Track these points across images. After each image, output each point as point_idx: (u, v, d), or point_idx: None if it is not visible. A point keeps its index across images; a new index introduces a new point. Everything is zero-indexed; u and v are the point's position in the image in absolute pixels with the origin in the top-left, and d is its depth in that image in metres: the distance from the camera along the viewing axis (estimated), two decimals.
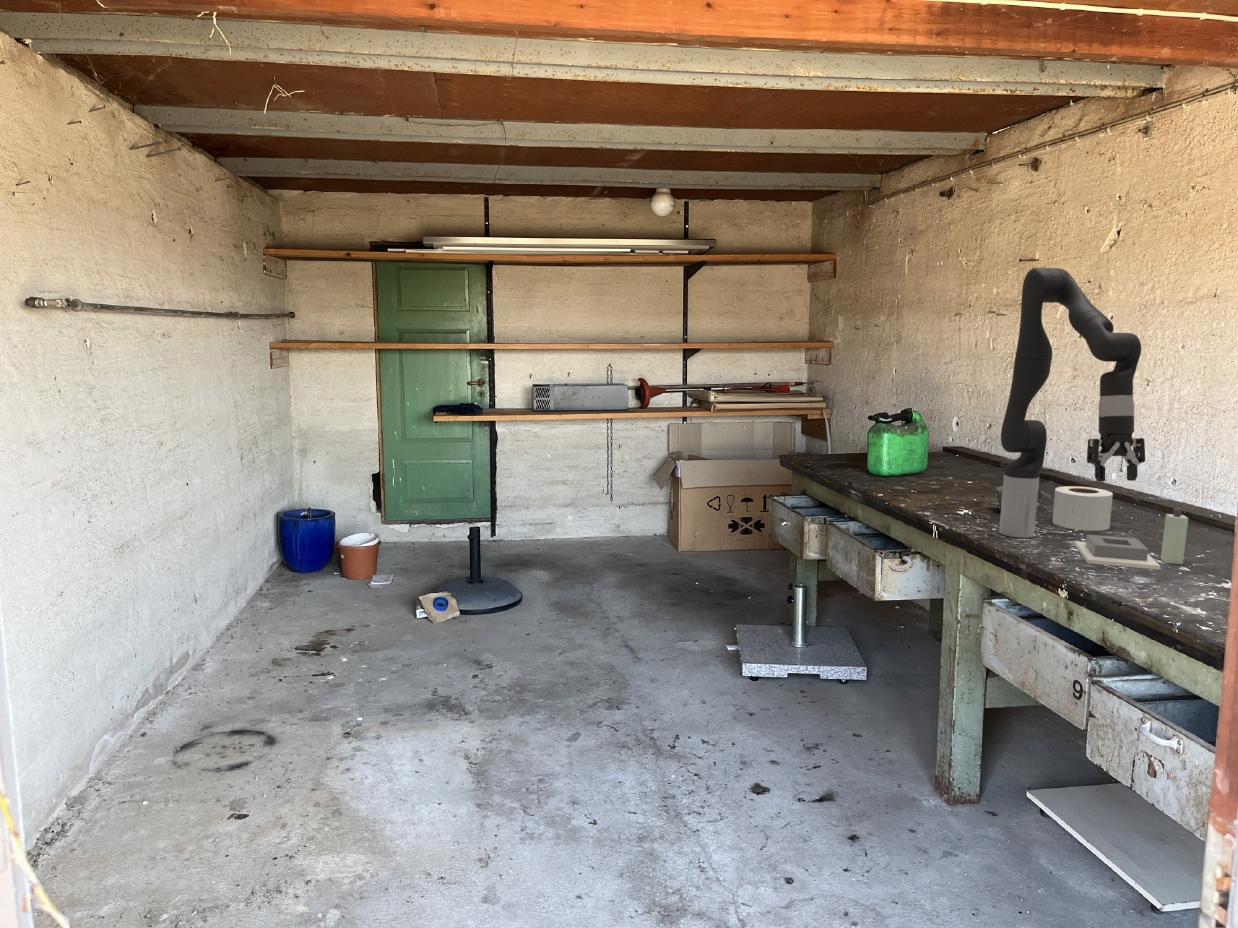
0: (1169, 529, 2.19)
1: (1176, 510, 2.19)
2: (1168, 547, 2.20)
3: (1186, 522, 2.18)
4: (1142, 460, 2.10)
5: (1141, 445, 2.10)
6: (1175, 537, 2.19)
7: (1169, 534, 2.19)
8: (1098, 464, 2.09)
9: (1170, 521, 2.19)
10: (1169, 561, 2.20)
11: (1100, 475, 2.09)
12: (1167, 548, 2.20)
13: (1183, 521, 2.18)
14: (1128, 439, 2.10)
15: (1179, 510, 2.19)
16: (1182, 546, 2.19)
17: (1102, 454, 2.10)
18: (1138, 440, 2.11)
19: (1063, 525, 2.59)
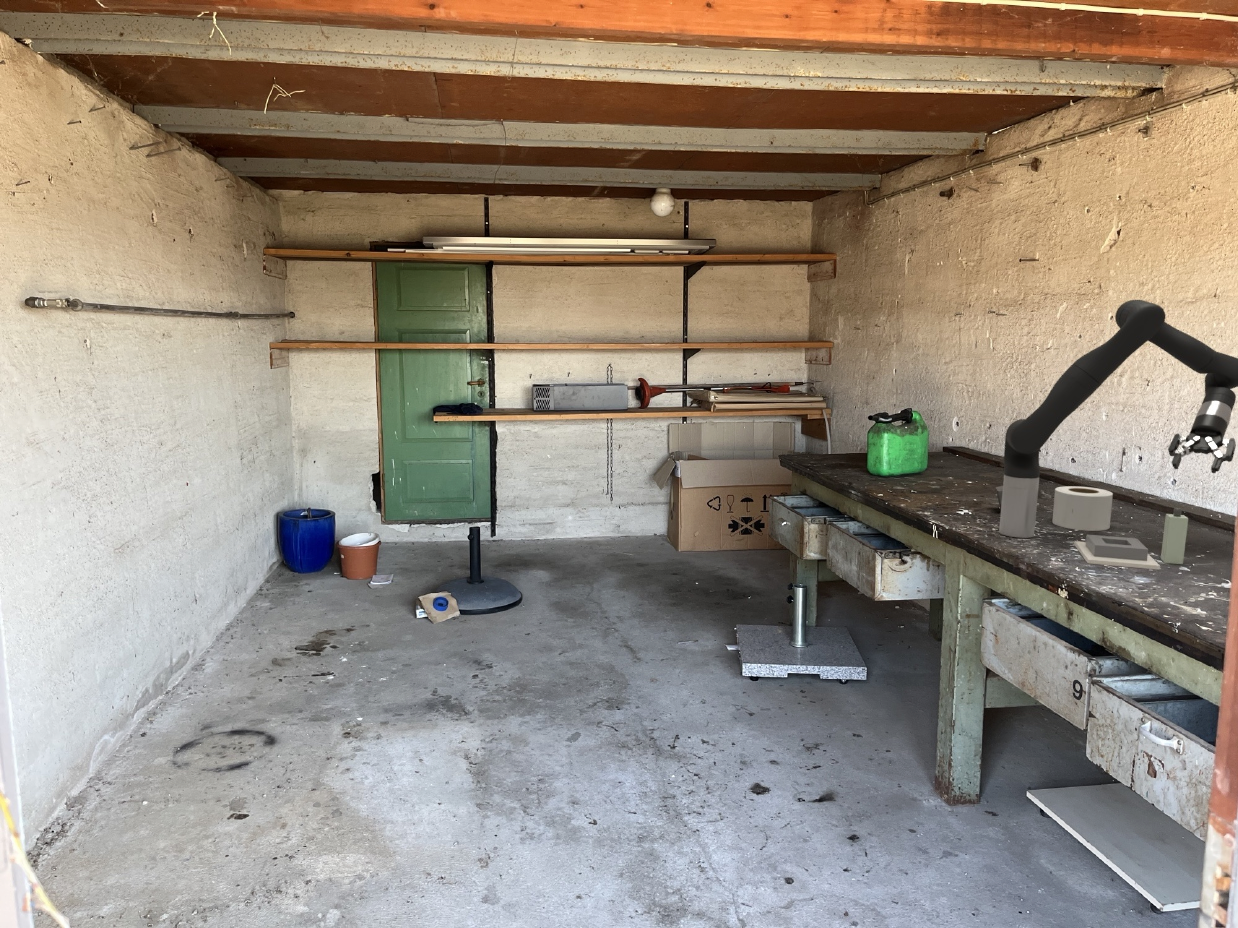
0: (1169, 529, 2.19)
1: (1176, 510, 2.19)
2: (1168, 547, 2.20)
3: (1186, 522, 2.18)
4: None
5: None
6: (1175, 537, 2.19)
7: (1169, 534, 2.19)
8: None
9: (1170, 521, 2.19)
10: (1169, 561, 2.20)
11: None
12: (1167, 548, 2.20)
13: (1183, 521, 2.18)
14: None
15: (1179, 510, 2.19)
16: (1182, 546, 2.19)
17: None
18: None
19: (1063, 525, 2.59)
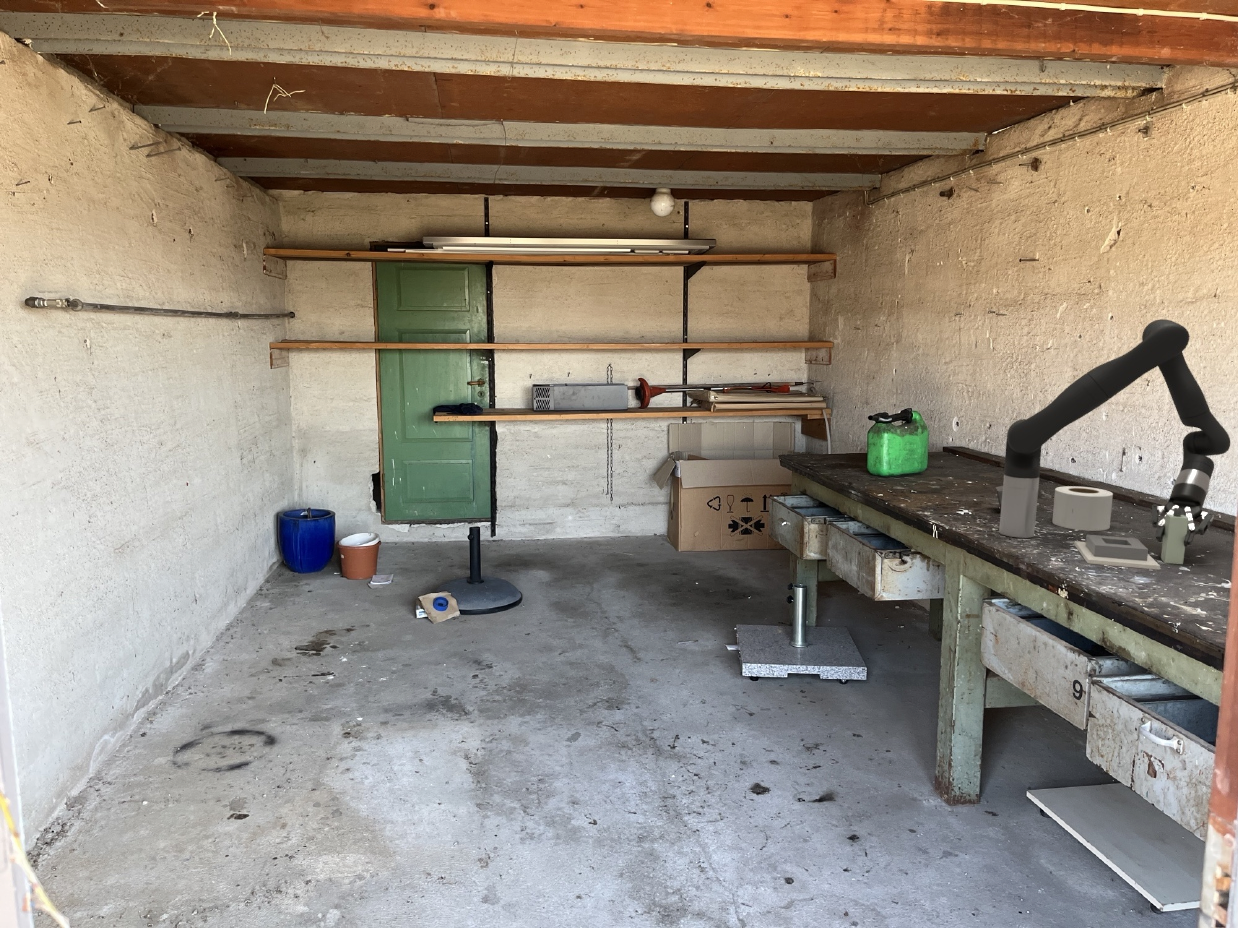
0: (1169, 529, 2.19)
1: (1176, 510, 2.19)
2: (1169, 547, 2.20)
3: (1186, 522, 2.18)
4: None
5: None
6: (1175, 537, 2.19)
7: (1170, 534, 2.19)
8: None
9: (1170, 521, 2.19)
10: (1169, 561, 2.20)
11: None
12: (1167, 548, 2.20)
13: (1183, 521, 2.18)
14: None
15: (1179, 510, 2.19)
16: (1182, 546, 2.19)
17: None
18: None
19: (1063, 525, 2.59)
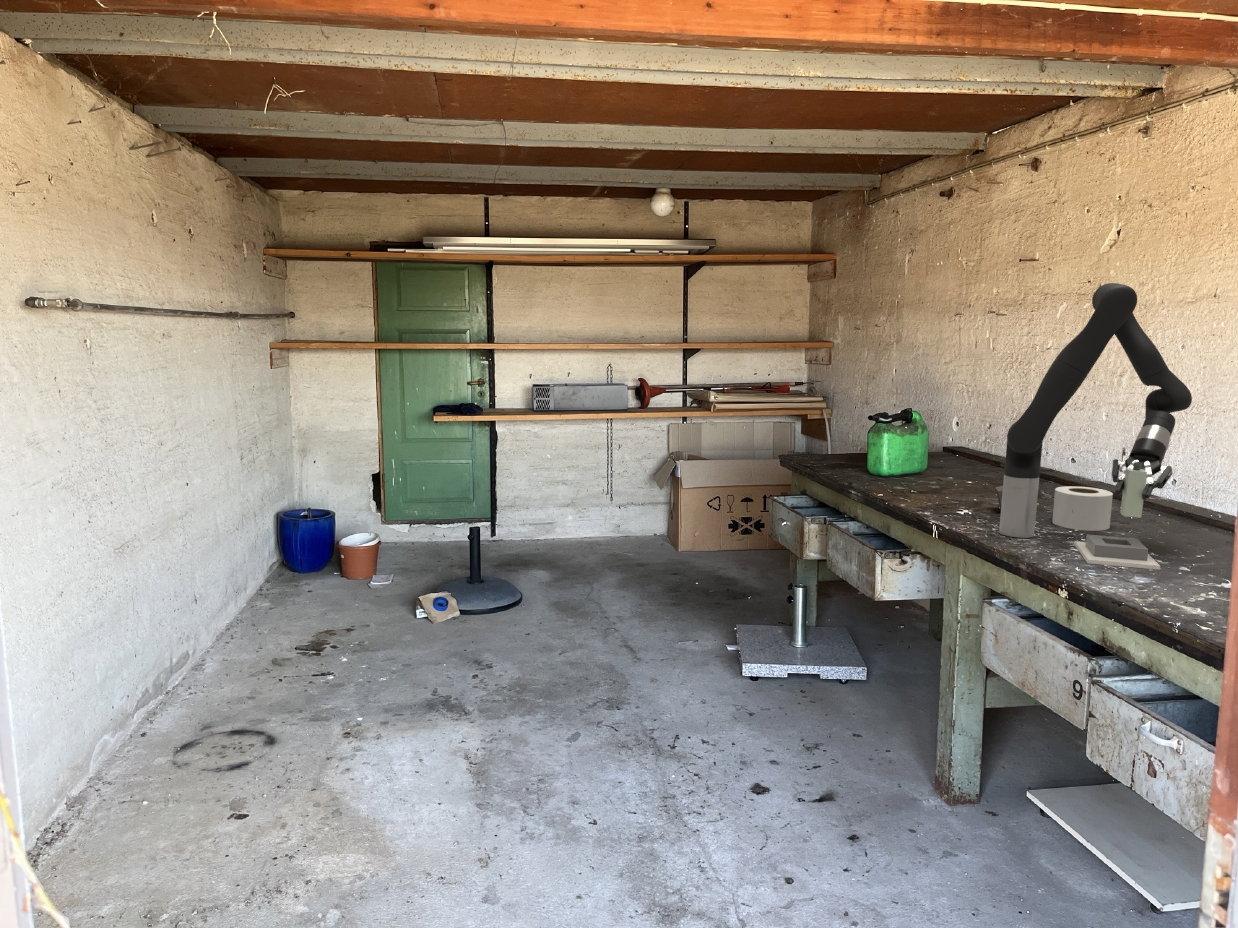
0: (1128, 482, 2.21)
1: (1135, 464, 2.21)
2: (1127, 500, 2.21)
3: (1145, 475, 2.19)
4: None
5: None
6: (1134, 491, 2.21)
7: (1129, 487, 2.21)
8: None
9: (1129, 474, 2.20)
10: (1128, 514, 2.22)
11: None
12: (1126, 501, 2.22)
13: (1142, 475, 2.19)
14: None
15: (1138, 464, 2.21)
16: (1140, 499, 2.20)
17: None
18: None
19: (1063, 525, 2.59)
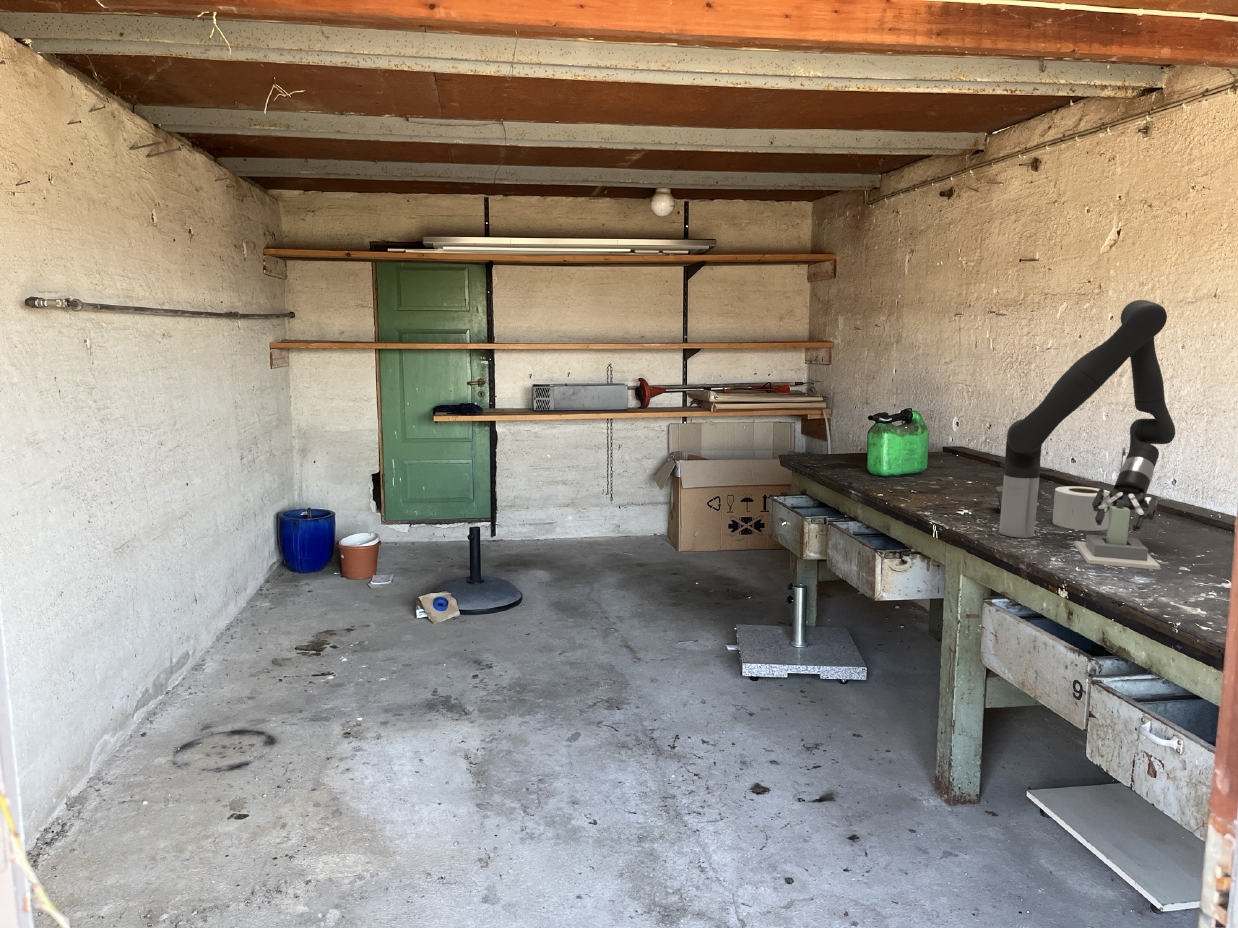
0: (1112, 521, 2.23)
1: (1119, 502, 2.23)
2: (1111, 538, 2.24)
3: (1128, 514, 2.22)
4: None
5: None
6: (1118, 529, 2.23)
7: (1112, 525, 2.24)
8: None
9: (1113, 513, 2.23)
10: None
11: None
12: (1110, 539, 2.24)
13: (1126, 513, 2.22)
14: None
15: (1122, 502, 2.23)
16: (1124, 537, 2.23)
17: None
18: None
19: (1063, 525, 2.59)
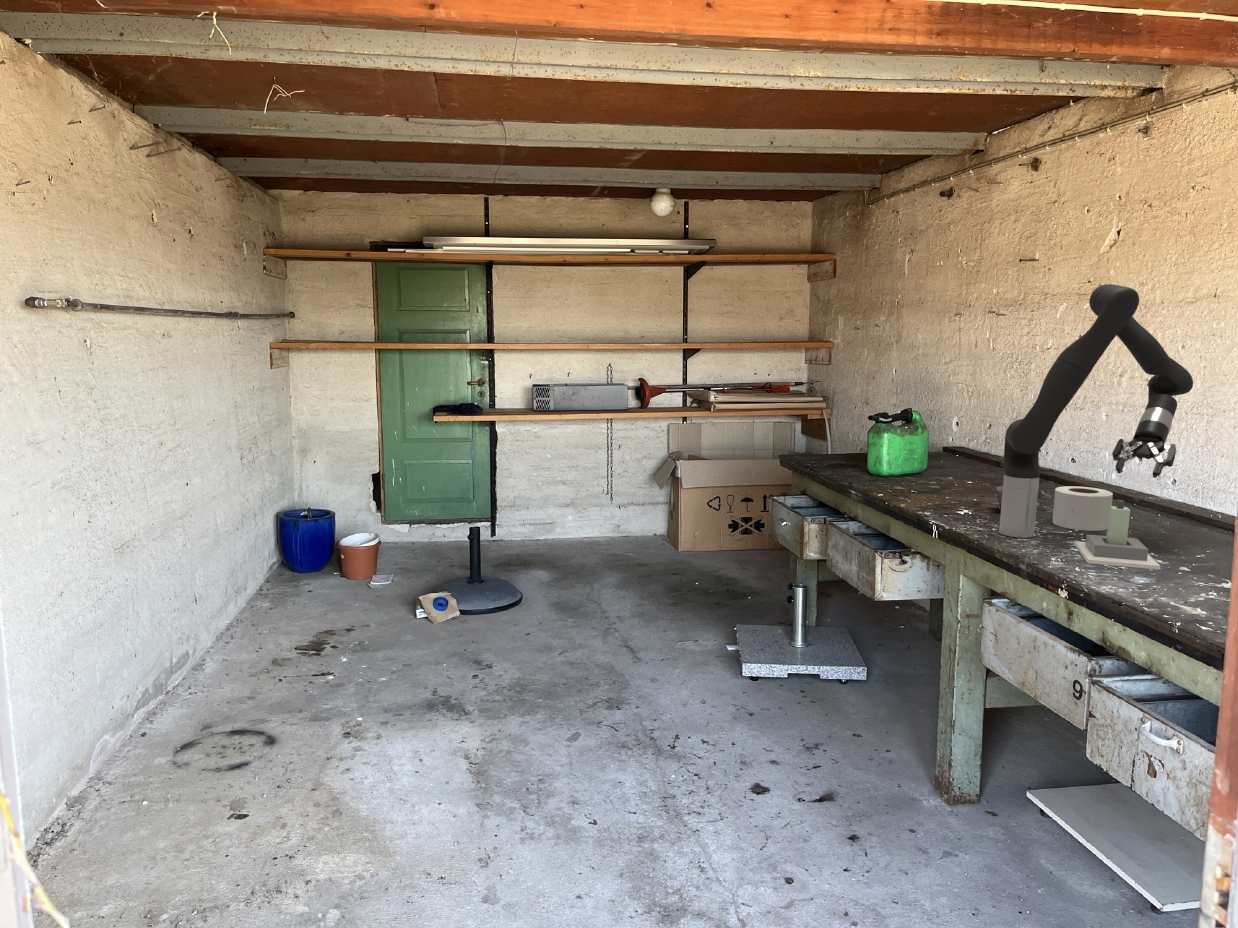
0: (1112, 521, 2.23)
1: (1119, 502, 2.23)
2: (1111, 538, 2.24)
3: (1128, 514, 2.22)
4: None
5: None
6: (1118, 529, 2.23)
7: (1112, 525, 2.24)
8: None
9: (1113, 513, 2.23)
10: None
11: None
12: (1110, 539, 2.24)
13: (1126, 513, 2.22)
14: None
15: (1122, 502, 2.23)
16: (1124, 537, 2.23)
17: None
18: None
19: (1063, 525, 2.59)
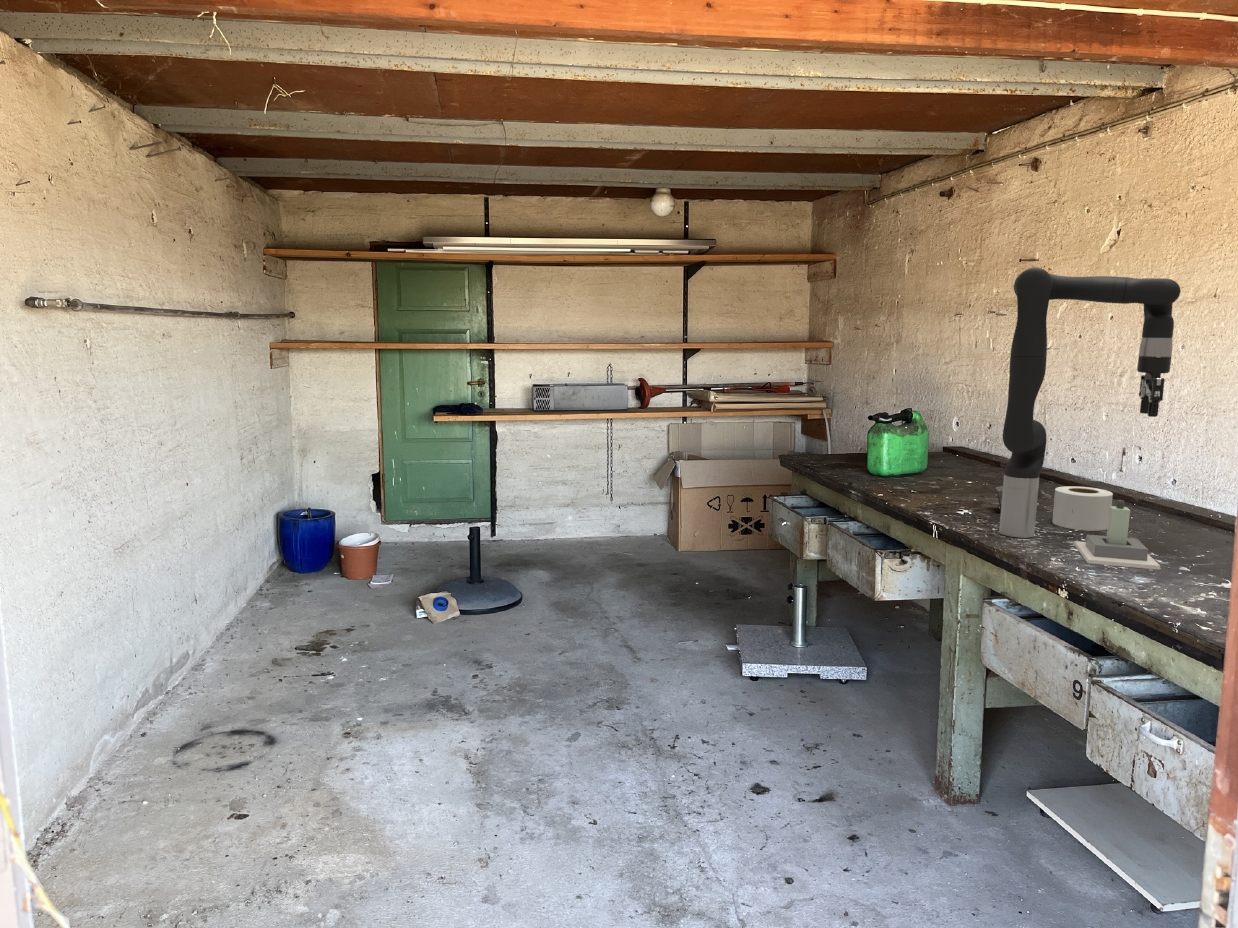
0: (1112, 521, 2.23)
1: (1119, 502, 2.23)
2: (1111, 538, 2.24)
3: (1128, 514, 2.22)
4: None
5: None
6: (1118, 529, 2.23)
7: (1112, 525, 2.24)
8: (1158, 401, 2.28)
9: (1113, 513, 2.23)
10: None
11: None
12: (1110, 539, 2.24)
13: (1126, 513, 2.22)
14: None
15: (1122, 502, 2.23)
16: (1124, 537, 2.23)
17: (1155, 392, 2.29)
18: None
19: (1063, 525, 2.59)
